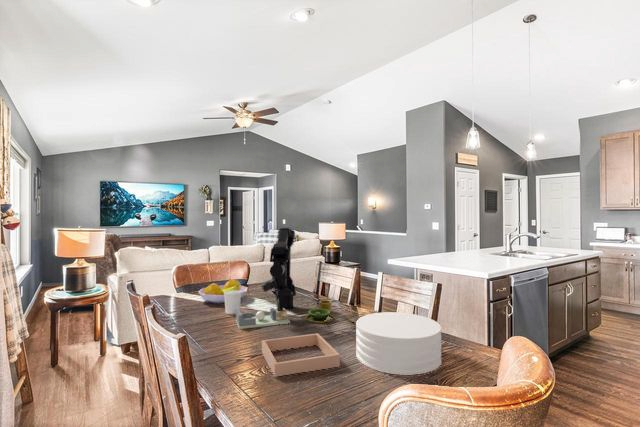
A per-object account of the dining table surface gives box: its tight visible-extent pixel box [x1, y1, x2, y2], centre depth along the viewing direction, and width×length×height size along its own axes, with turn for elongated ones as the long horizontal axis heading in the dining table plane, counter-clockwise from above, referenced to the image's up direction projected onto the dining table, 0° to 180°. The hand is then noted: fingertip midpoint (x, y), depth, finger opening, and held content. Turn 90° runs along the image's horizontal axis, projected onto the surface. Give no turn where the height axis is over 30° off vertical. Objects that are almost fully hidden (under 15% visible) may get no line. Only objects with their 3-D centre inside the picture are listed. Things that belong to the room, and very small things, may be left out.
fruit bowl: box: [197, 278, 248, 304], centre depth 199 cm, size 28×27×11 cm
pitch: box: [235, 308, 291, 330], centre depth 160 cm, size 22×12×6 cm, turn 110°
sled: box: [269, 299, 288, 320], centre depth 162 cm, size 6×6×8 cm
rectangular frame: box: [261, 332, 341, 377], centre depth 120 cm, size 21×21×4 cm
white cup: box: [224, 290, 242, 315], centre depth 175 cm, size 8×8×10 cm
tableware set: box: [297, 299, 367, 328], centre depth 161 cm, size 41×28×6 cm
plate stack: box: [355, 311, 442, 375], centre depth 121 cm, size 28×28×12 cm
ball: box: [255, 310, 266, 320], centre depth 160 cm, size 4×4×4 cm
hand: (280, 308), depth 163 cm, fingers open, 3 cm apart
